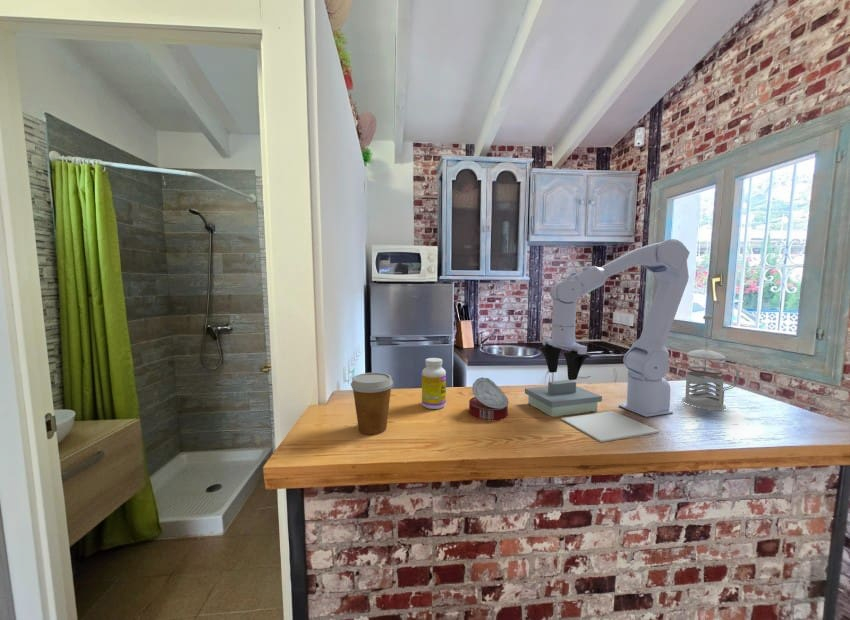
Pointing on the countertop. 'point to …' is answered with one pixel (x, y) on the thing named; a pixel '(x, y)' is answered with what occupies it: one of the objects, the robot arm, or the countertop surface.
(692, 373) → the french press
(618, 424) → the mat
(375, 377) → the disposable coffee cup
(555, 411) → the storage box
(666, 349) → the robot arm
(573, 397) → the lid
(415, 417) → the countertop surface
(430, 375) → the supplement bottle
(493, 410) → the canned food
